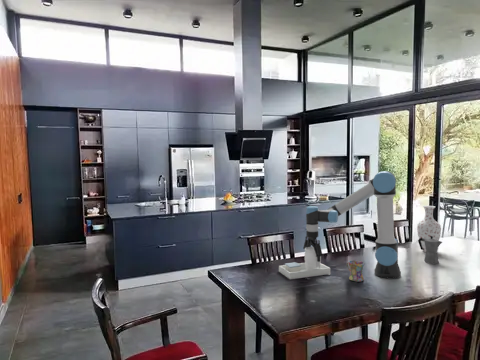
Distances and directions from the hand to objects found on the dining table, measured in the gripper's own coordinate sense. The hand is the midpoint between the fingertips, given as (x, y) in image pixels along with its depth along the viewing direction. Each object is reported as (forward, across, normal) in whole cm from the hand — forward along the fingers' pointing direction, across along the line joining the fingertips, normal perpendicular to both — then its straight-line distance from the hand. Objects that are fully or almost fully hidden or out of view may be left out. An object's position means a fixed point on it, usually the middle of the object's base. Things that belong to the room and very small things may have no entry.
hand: (312, 263), depth 221 cm
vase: (+6, -14, +109) cm, 110 cm away
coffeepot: (+6, +7, +88) cm, 88 cm away
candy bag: (+6, +20, +17) cm, 27 cm away
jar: (+5, 0, 0) cm, 5 cm away
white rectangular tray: (+6, 0, -6) cm, 8 cm away
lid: (0, 0, -14) cm, 14 cm away
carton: (+5, 0, -14) cm, 15 cm away
